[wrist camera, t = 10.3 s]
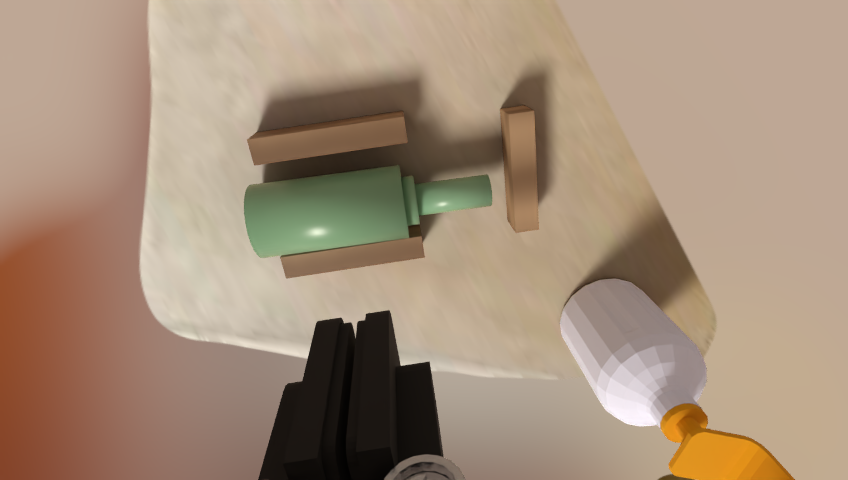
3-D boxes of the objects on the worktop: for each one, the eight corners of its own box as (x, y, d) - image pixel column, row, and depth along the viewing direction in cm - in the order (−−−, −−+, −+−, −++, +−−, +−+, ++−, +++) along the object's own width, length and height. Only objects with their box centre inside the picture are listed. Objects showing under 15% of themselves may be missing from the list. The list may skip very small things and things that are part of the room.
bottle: (237, 209, 35) (496, 174, 35) (254, 171, 40) (480, 141, 40) (262, 272, 38) (497, 240, 39) (274, 231, 43) (482, 202, 44)
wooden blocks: (256, 132, 39) (246, 139, 36) (523, 92, 39) (533, 97, 37) (292, 262, 44) (286, 278, 41) (529, 227, 44) (539, 239, 42)
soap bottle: (579, 267, 46) (761, 490, 24) (661, 287, 48) (904, 513, 25) (544, 343, 50) (676, 601, 27) (623, 359, 51) (808, 616, 29)
